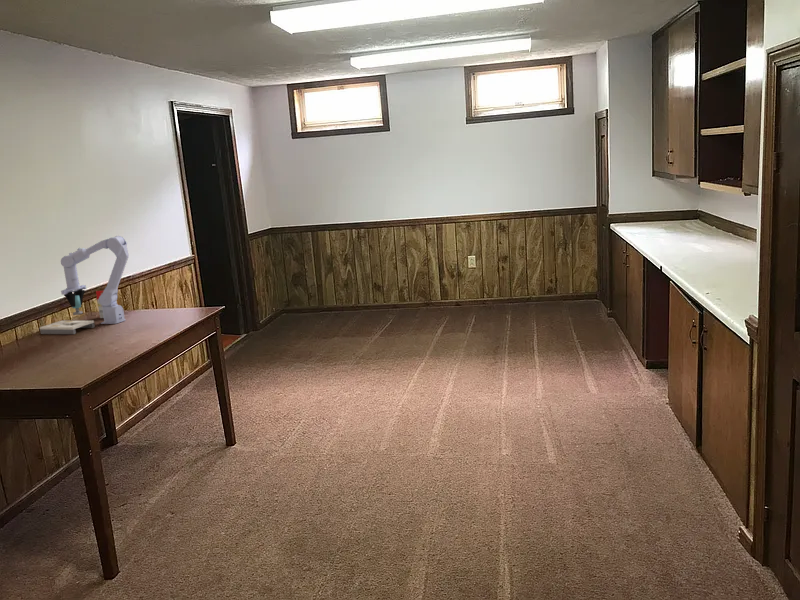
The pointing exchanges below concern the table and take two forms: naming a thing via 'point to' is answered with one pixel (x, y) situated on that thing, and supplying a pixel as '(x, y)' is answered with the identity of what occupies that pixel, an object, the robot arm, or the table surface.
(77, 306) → the peg
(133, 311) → the table surface
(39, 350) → the table surface
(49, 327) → the board
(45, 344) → the table surface
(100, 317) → the ink box
